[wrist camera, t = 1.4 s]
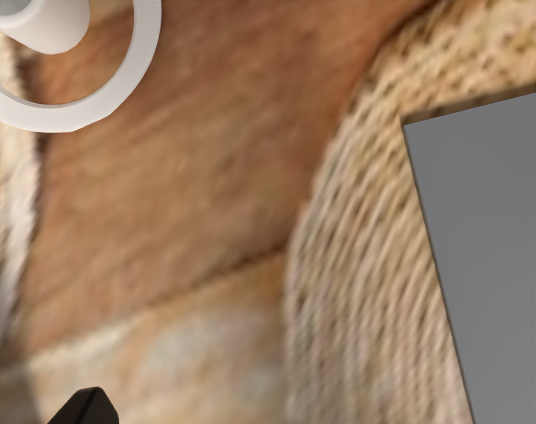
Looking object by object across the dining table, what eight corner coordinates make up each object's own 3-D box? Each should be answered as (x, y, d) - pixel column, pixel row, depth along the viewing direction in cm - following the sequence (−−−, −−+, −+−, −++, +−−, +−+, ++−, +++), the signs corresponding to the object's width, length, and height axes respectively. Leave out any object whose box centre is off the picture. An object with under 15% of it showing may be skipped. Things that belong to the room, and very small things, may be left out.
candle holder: (125, 163, 25) (85, 154, 21) (-74, 96, 27) (-150, 75, 22) (195, -60, 25) (169, -115, 21) (-11, -117, 26) (-77, -181, 22)
